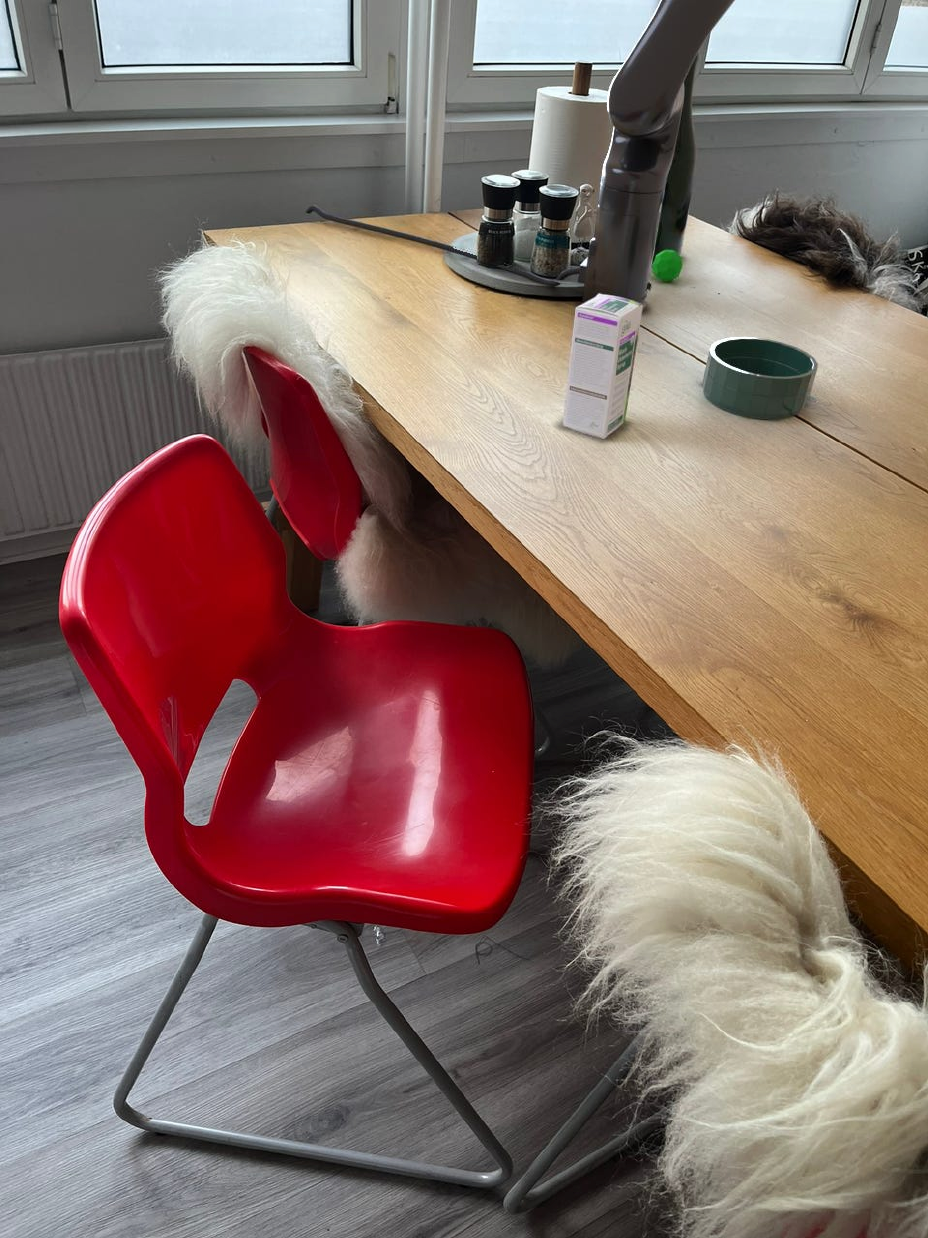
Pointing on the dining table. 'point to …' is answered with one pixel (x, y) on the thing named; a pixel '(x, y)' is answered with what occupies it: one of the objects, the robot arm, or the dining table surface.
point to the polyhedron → (667, 265)
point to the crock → (758, 377)
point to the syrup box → (601, 364)
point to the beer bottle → (679, 177)
